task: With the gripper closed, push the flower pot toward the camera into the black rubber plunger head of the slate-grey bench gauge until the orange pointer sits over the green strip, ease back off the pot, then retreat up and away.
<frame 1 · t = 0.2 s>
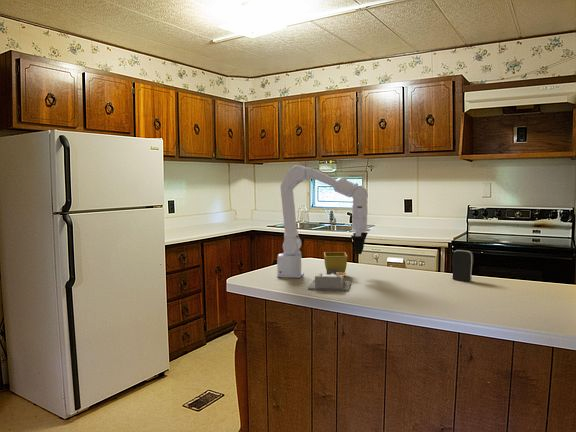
hand: (359, 252, 175), 10 cm above the counter, fingers open, 7 cm apart
plunger: (335, 276, 167), point 3 cm above the counter, slide at 0.0 cm
flower pot: (335, 276, 178), on the counter
gauge housing: (329, 286, 162), on the counter
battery: (462, 280, 170), on the counter
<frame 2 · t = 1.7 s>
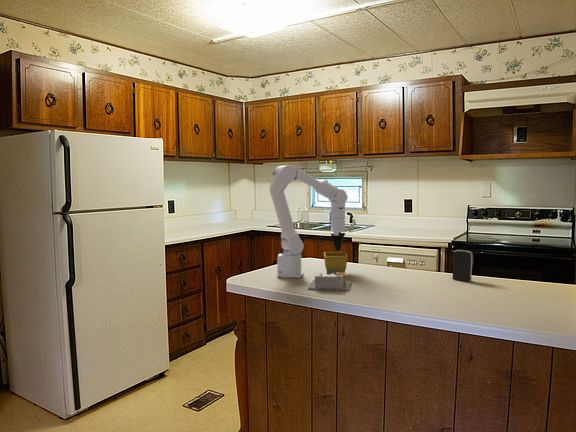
hand: (338, 250, 187), 9 cm above the counter, fingers closed
nothing on the counter moved.
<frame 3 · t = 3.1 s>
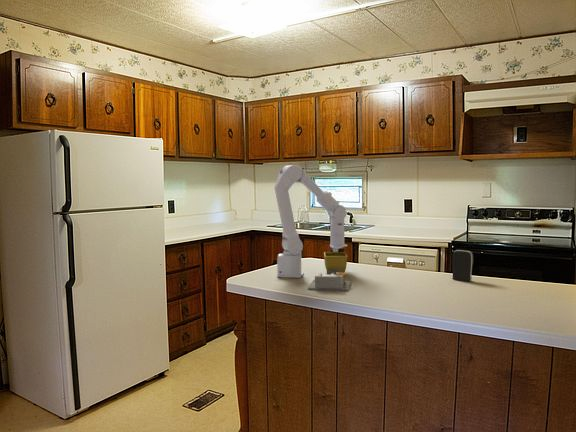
hand: (337, 266, 185), 2 cm above the counter, fingers closed
flower pot: (335, 276, 178), on the counter, touching gripper
everything else where it was.
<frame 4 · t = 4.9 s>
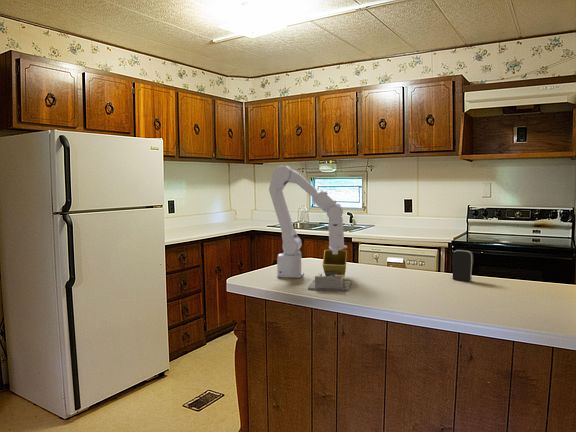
hand: (337, 269, 176), 3 cm above the counter, fingers closed, pressing on flower pot
plunger: (333, 278, 163), point 3 cm above the counter, slide at 4.0 cm, touching flower pot, gauge housing
flower pot: (335, 275, 174), point 1 cm above the counter, touching gripper, plunger
everything else where it was.
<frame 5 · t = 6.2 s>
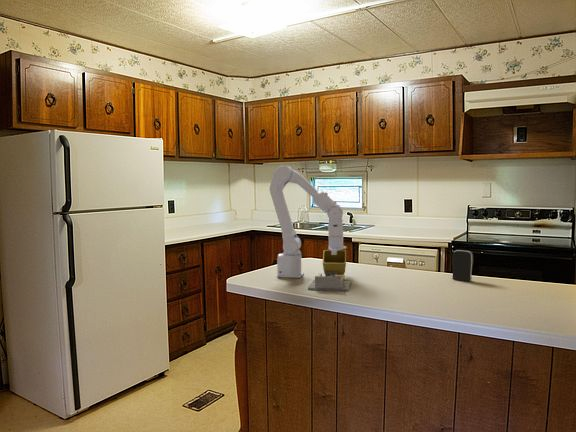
hand: (336, 269, 177), 3 cm above the counter, fingers closed, pressing on flower pot
plunger: (333, 278, 163), point 3 cm above the counter, slide at 4.0 cm, touching gauge housing
flower pot: (334, 275, 174), point 1 cm above the counter, touching gripper
everything else where it was.
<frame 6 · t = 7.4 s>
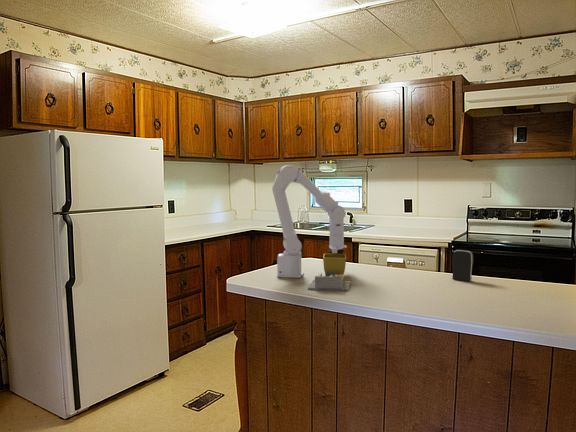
hand: (336, 268, 182), 2 cm above the counter, fingers closed
flower pot: (334, 278, 175), on the counter
everything else where it was.
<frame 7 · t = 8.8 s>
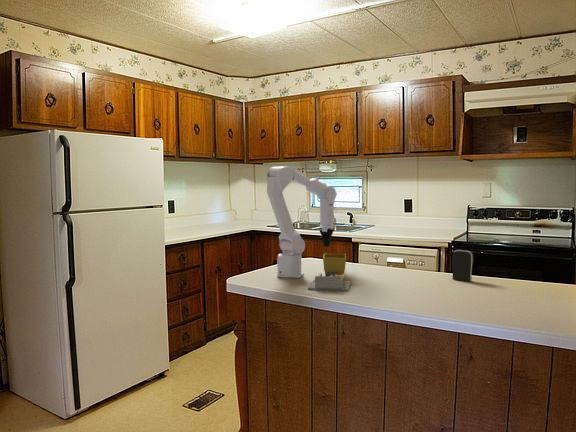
hand: (326, 246, 190), 10 cm above the counter, fingers closed
nothing on the counter moved.
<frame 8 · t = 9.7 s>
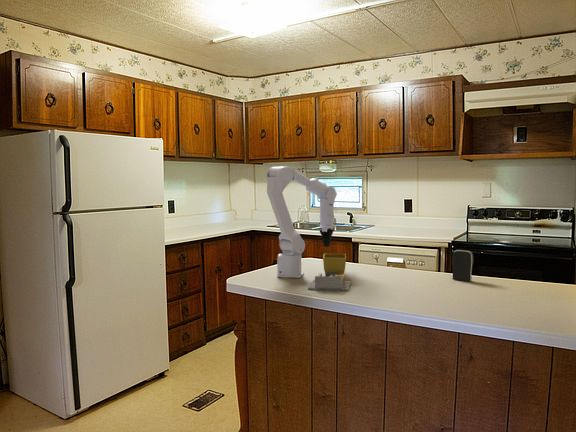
hand: (326, 246, 190), 10 cm above the counter, fingers closed
nothing on the counter moved.
at the end: plunger slide at 4.0 cm; flower pot moved 3.7 cm from its start; flower pot tilted 0° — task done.
